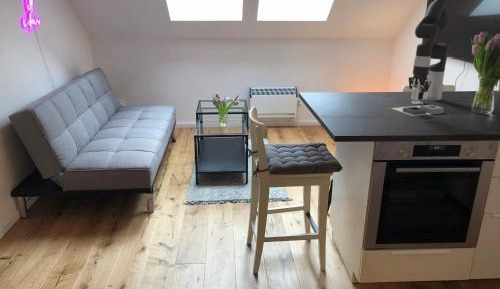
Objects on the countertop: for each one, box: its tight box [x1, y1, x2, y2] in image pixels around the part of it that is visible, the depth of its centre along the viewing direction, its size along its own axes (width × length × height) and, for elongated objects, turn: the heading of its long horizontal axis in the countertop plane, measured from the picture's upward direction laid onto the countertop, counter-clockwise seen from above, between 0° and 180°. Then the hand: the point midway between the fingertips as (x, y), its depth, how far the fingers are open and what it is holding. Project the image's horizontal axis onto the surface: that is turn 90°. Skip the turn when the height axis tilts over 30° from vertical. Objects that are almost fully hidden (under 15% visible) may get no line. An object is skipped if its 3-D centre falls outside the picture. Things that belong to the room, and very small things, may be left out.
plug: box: [410, 87, 424, 101], centre depth 209 cm, size 5×4×6 cm
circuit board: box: [390, 104, 444, 117], centre depth 216 cm, size 20×17×4 cm
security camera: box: [411, 89, 429, 105], centre depth 232 cm, size 6×7×10 cm
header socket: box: [402, 106, 426, 115], centre depth 212 cm, size 8×8×2 cm
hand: (416, 98), depth 210 cm, fingers closed on plug, 4 cm apart
